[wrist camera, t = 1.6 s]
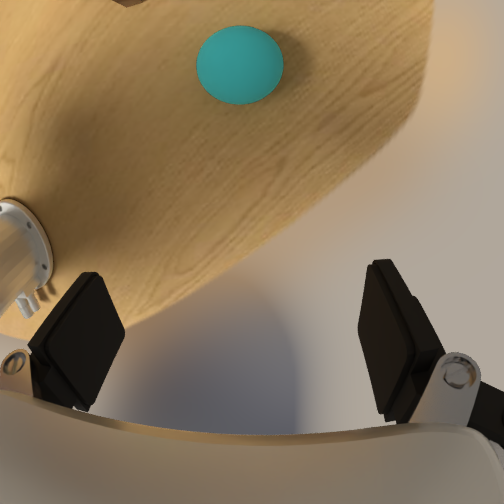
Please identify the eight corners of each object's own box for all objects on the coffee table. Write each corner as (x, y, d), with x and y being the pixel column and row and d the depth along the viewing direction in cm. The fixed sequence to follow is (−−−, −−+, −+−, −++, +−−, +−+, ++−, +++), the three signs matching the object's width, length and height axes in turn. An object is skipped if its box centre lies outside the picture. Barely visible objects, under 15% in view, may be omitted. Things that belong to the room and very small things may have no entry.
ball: (283, 101, 21) (289, 103, 16) (208, 107, 22) (191, 110, 17) (278, 32, 19) (282, 13, 13) (202, 39, 19) (183, 23, 14)
